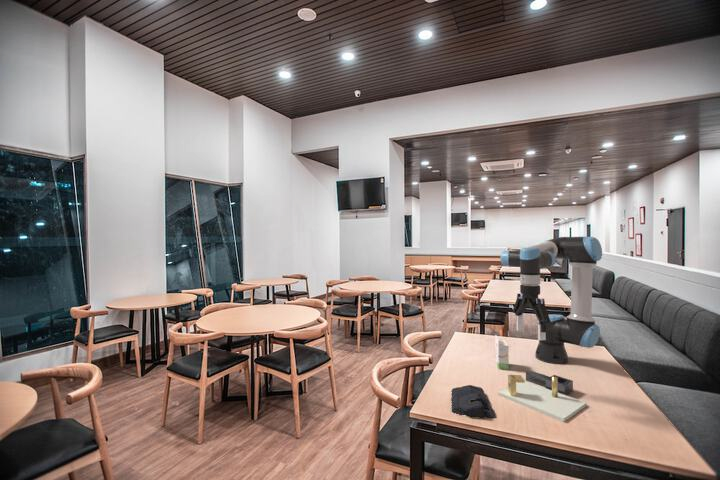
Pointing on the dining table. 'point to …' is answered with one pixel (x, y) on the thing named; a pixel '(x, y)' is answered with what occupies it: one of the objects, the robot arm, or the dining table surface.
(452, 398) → the black flat irregular piece
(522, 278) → the robot arm
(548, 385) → the link
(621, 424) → the dining table surface
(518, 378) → the block
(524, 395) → the board
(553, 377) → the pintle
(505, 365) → the ink box
